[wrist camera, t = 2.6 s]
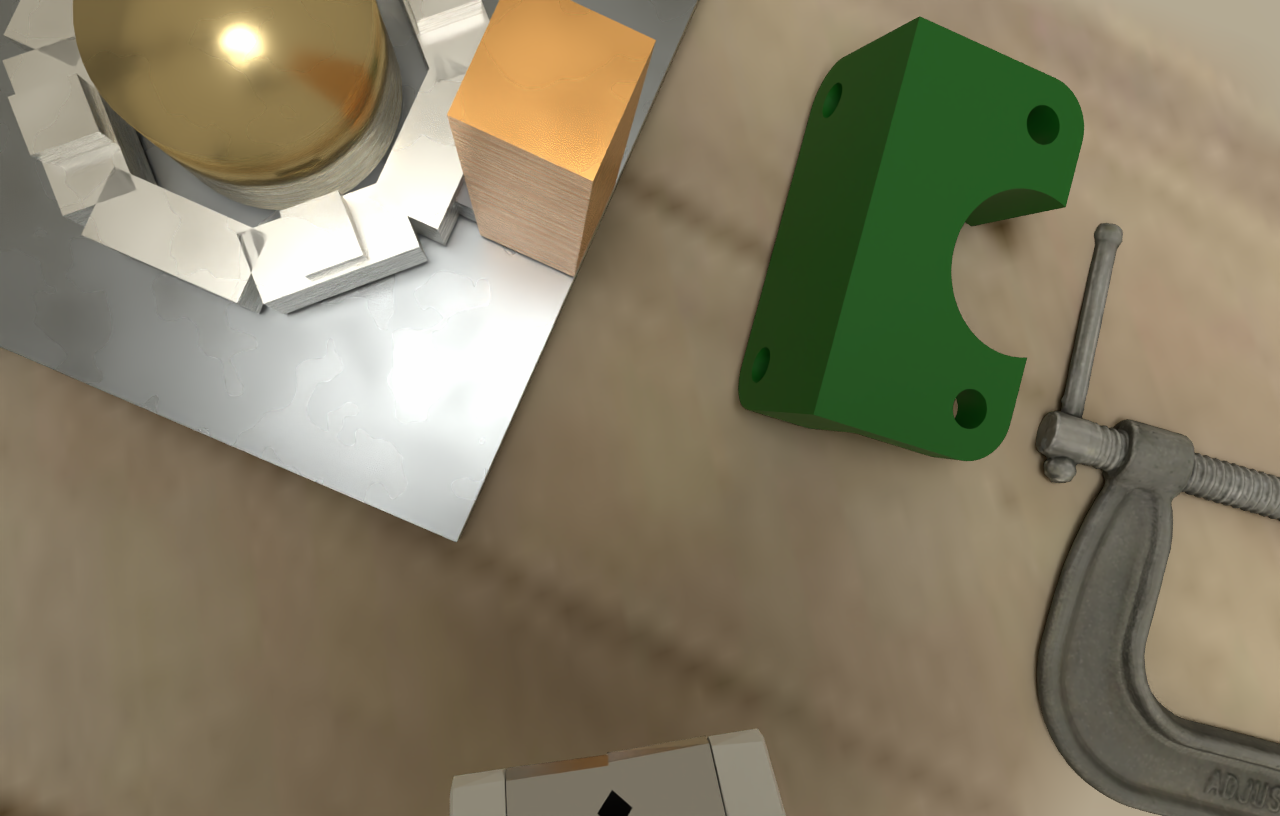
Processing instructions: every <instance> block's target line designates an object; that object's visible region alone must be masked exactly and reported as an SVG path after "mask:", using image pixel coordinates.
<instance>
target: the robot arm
mask: <svg viewBox="0 0 1280 816" xmlns="http://www.w3.org/2000/svg"><path fill="white" fill-rule="evenodd" d="M450 816H786V814H785V810H784V807H783V803H782V800H781V796H780V793H779V789H778V786H777V782H776V778H775V775H774V771H773V768H772V764H771V761H770V757H769V754H768V750H767V747H766V743H765V740H764V736H763V735H762V734H761V733H760V731H759V730H758V729H757V728H756V729H750V730H744V731H738V732H732V733H725V734H719V735H713V736H708V738H706V736H700V737H694V738H689V739H683V740H677V741H671V742H666V743H660V744H654V745H648V746H643V747H637V748H631V749H625V750H620V751H614V752H608V753H607V755H601V756H594V757H586V758H579V759H571V760H564V761H556V762H549V763H541V764H534V765H526V766H519V767H511V768H507V769H506V768H505V769H498V770H491V771H485V772H478V773H471V774H464V775H458V776H454V777H453V782H452V786H451V790H450Z"/></svg>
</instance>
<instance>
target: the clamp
mask: <svg viewBox="0 0 1280 816" xmlns="http://www.w3.org/2000/svg"><path fill="white" fill-rule="evenodd" d="M1083 135H1084V120H1083V114H1082V110H1081V107H1080V105H1079V102H1078V100H1077V98H1076V97H1075V95H1074V94H1073V92H1072V91H1071V90H1070V89H1069V88H1068V87H1067V86H1066V85H1065V84H1064V83H1063V82H1061V81H1060V80H1058V79H1056V78H1054V77H1052V76H1050V75H1047V74H1045V73H1043V72H1041V71H1039V70H1036V69H1034V68H1032V67H1030V66H1028V65H1025V64H1023V63H1021V62H1019V61H1017V60H1014V59H1012V58H1010V57H1008V56H1006V55H1003V54H1001V53H999V52H997V51H995V50H992V49H990V48H988V47H986V46H984V45H981V44H979V43H977V42H975V41H973V40H970V39H968V38H966V37H964V36H962V35H960V34H957V33H955V32H953V31H951V30H949V29H946V28H944V27H942V26H940V25H938V24H935V23H933V22H931V21H929V20H927V19H924V18H922V17H918V18H916V19H914V20H912V21H910V22H908V23H906V24H905V25H903V26H901V27H899V28H897V29H895V30H893V31H892V32H890V33H888V34H886V35H884V36H882V37H880V38H879V39H877V40H875V41H873V42H871V43H869V44H867V45H866V46H864V47H862V48H860V49H858V50H856V51H854V52H852V53H851V54H849V55H847V56H845V57H843V58H842V59H840V60H839V61H838V62H837V63H836V64H835V65H834V66H833V67H832V69H831V70H830V71H829V73H828V74H827V76H826V77H825V79H824V80H823V82H822V84H821V86H820V88H819V90H818V92H817V95H816V97H815V100H814V102H813V105H812V109H811V112H810V116H809V120H808V123H807V127H806V131H805V134H804V138H803V142H802V145H801V149H800V153H799V156H798V160H797V164H796V167H795V171H794V175H793V179H792V182H791V186H790V190H789V193H788V197H787V201H786V204H785V208H784V212H783V215H782V219H781V223H780V226H779V230H778V234H777V238H776V241H775V245H774V249H773V252H772V256H771V260H770V263H769V267H768V271H767V274H766V278H765V282H764V285H763V289H762V293H761V297H760V300H759V304H758V308H757V311H756V315H755V319H754V322H753V326H752V330H751V333H750V337H749V341H748V345H747V348H746V352H745V356H744V359H743V363H742V367H741V371H740V376H739V386H738V391H739V399H740V402H741V404H742V406H743V407H744V408H745V409H747V410H751V411H754V412H757V413H760V414H764V415H767V416H770V417H773V418H777V419H780V420H783V421H786V422H790V423H793V424H796V425H799V426H803V427H806V428H811V429H821V430H831V431H841V432H851V433H857V434H860V435H863V436H866V437H870V438H873V439H876V440H879V441H882V442H886V443H889V444H892V445H895V446H899V447H902V448H905V449H908V450H911V451H915V452H918V453H921V454H924V455H928V456H931V457H938V458H946V459H954V460H962V461H974V460H978V459H981V458H984V457H986V456H988V455H989V454H991V453H992V452H993V451H994V450H996V449H997V447H998V446H999V445H1000V444H1001V443H1002V441H1003V440H1004V438H1005V436H1006V434H1007V432H1008V429H1009V426H1010V423H1011V419H1012V415H1013V411H1014V407H1015V403H1016V399H1017V395H1018V391H1019V387H1020V383H1021V380H1022V376H1023V372H1024V368H1025V364H1026V360H1027V358H1019V357H1011V356H1007V355H1004V354H1001V353H999V352H996V351H995V350H993V349H991V348H989V347H988V346H986V345H985V344H984V343H982V342H981V341H980V340H979V339H978V338H977V337H976V336H975V335H974V334H973V333H972V331H971V330H970V329H969V327H968V326H967V325H966V323H965V321H964V320H963V318H962V316H961V314H960V312H959V309H958V307H957V304H956V301H955V297H954V293H953V288H952V279H951V264H952V255H953V251H954V246H955V243H956V240H957V237H958V235H959V232H960V230H961V228H962V226H963V224H964V223H967V224H969V225H970V226H975V225H980V224H985V223H990V222H995V221H1000V220H1005V219H1010V218H1015V217H1019V216H1024V215H1029V214H1034V213H1039V212H1044V211H1049V210H1054V209H1059V208H1063V207H1066V204H1067V200H1068V196H1069V192H1070V188H1071V184H1072V180H1073V176H1074V172H1075V168H1076V164H1077V161H1078V157H1079V153H1080V149H1081V145H1082V141H1083ZM955 398H956V399H957V403H958V411H957V415H956V417H955V418H954V415H953V403H954V400H955Z"/></svg>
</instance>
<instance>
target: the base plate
mask: <svg viewBox="0 0 1280 816" xmlns="http://www.w3.org/2000/svg"><path fill="white" fill-rule="evenodd" d="M481 1H482V3H483V6H484V8H485V11H486V13H487V16H488V18H489V21H490V20H491V17H492V15H493V13H494V11H495V9H496V6H497V4H498V2H499V0H481ZM571 1H573V2H575V3H577V4H580V5H582V6H584V7H586V8H588V9H590V10H592V11H595V12H597V13H599V14H601V15H603V16H605V17H608V18H610V19H612V20H614V21H616V22H618V23H620V24H623V25H625V26H627V27H629V28H631V29H633V30H635V31H638V32H640V33H642V34H644V35H646V36H648V37H650V38H653V39H655V40H656V42H655V46H654V49H653V53H652V56H651V60H650V63H649V67H648V70H647V74H646V77H645V81H644V84H643V88H642V91H641V95H640V98H639V102H638V105H637V109H636V113H635V116H634V120H633V123H632V127H631V130H630V134H629V137H628V141H627V144H626V148H625V151H624V155H623V158H622V162H621V165H620V169H619V172H618V176H617V179H616V183H615V186H614V188H613V191H612V193H611V195H610V197H609V200H608V202H607V204H606V206H605V209H604V211H603V213H602V215H601V218H600V220H599V222H598V224H597V226H596V229H595V231H594V233H593V235H592V238H591V240H590V242H589V244H588V247H587V249H586V251H585V253H584V256H583V258H582V260H581V262H580V265H579V267H578V269H577V271H576V274H575V276H574V277H573V276H571V275H568V274H566V273H564V272H562V271H560V270H557V269H555V268H553V267H551V266H548V265H546V264H544V263H542V262H539V261H537V260H535V259H533V258H531V257H528V256H526V255H524V254H522V253H519V252H517V251H515V250H513V249H510V248H508V247H506V246H504V245H502V244H499V243H497V242H495V241H493V240H490V239H488V238H486V237H484V236H482V235H480V232H479V229H478V225H477V222H475V221H473V220H471V219H468V218H466V217H464V216H462V215H460V214H459V216H458V218H457V220H456V222H455V225H454V227H453V229H452V231H451V233H450V236H449V238H448V240H447V242H446V244H445V245H443V244H441V243H439V242H437V241H435V240H432V239H430V238H428V237H426V236H423V235H421V234H419V233H417V234H418V237H419V239H420V242H421V244H422V247H423V249H424V252H425V255H426V257H427V260H428V261H427V262H424V263H421V264H419V265H416V266H413V267H411V268H408V269H405V270H402V271H400V272H397V273H394V274H392V275H389V276H386V277H384V278H381V279H378V280H375V281H373V282H370V283H367V284H365V285H362V286H359V287H356V288H354V289H351V290H348V291H346V292H343V293H340V294H337V295H335V296H332V297H329V298H327V299H324V300H321V301H318V302H316V303H313V304H310V305H308V306H305V307H302V308H300V309H297V310H294V311H291V312H289V313H286V314H282V313H280V312H278V311H276V310H274V309H272V308H270V307H269V306H267V305H265V304H264V305H263V307H262V309H261V311H260V313H257V312H254V311H252V310H250V309H247V308H245V307H243V306H241V305H238V304H236V303H234V302H231V301H229V300H227V299H225V298H222V297H220V296H218V295H215V294H213V293H211V292H209V291H206V290H204V289H202V288H199V287H197V286H195V285H193V284H190V283H188V282H186V281H183V280H181V279H179V278H177V277H174V276H172V275H170V274H167V273H165V272H163V271H161V270H158V269H156V268H154V267H151V266H149V265H147V264H145V263H142V262H140V261H138V260H135V259H133V258H131V257H129V256H126V255H124V254H122V253H119V252H117V251H115V250H113V249H111V248H108V247H106V246H104V245H102V244H100V243H98V242H96V241H94V240H91V239H89V238H87V237H85V236H83V235H81V234H82V232H83V230H84V226H82V225H80V224H78V223H76V222H74V221H72V220H70V219H68V218H66V217H64V216H63V215H62V213H61V210H60V207H59V205H58V202H57V200H56V197H55V195H54V192H53V189H52V187H51V184H50V182H49V179H48V177H47V174H46V171H45V169H44V166H43V164H42V162H41V161H39V160H38V159H36V158H34V157H32V156H31V155H30V153H29V151H28V148H27V145H26V143H25V140H24V138H23V135H22V133H21V130H20V127H19V125H18V122H17V120H16V117H15V115H14V112H13V109H12V107H11V104H10V102H9V99H8V97H9V96H12V95H15V92H14V89H13V86H12V84H11V81H10V79H9V76H8V74H7V71H6V68H5V66H4V63H3V61H2V60H5V59H8V58H11V57H14V56H17V55H20V54H23V53H26V52H25V51H24V50H22V49H21V48H20V47H18V46H17V45H16V44H14V43H13V42H12V41H11V40H9V39H8V38H7V37H5V36H4V33H5V31H6V29H7V27H8V25H9V23H10V21H11V19H12V17H13V14H14V12H15V10H16V8H17V6H18V4H19V2H20V0H0V347H2V348H4V349H7V350H9V351H11V352H14V353H16V354H18V355H21V356H23V357H25V358H28V359H30V360H32V361H35V362H37V363H39V364H42V365H44V366H46V367H49V368H51V369H53V370H56V371H58V372H60V373H63V374H65V375H67V376H70V377H72V378H74V379H77V380H79V381H81V382H84V383H86V384H88V385H91V386H93V387H95V388H98V389H100V390H102V391H105V392H107V393H109V394H112V395H114V396H116V397H119V398H121V399H123V400H126V401H128V402H130V403H133V404H135V405H137V406H140V407H142V408H144V409H147V410H149V411H151V412H154V413H156V414H158V415H161V416H163V417H165V418H168V419H170V420H172V421H175V422H177V423H179V424H182V425H184V426H186V427H189V428H191V429H193V430H196V431H198V432H200V433H203V434H205V435H207V436H210V437H212V438H214V439H217V440H219V441H221V442H224V443H226V444H228V445H231V446H233V447H235V448H238V449H240V450H242V451H245V452H247V453H249V454H252V455H254V456H256V457H259V458H261V459H263V460H266V461H268V462H270V463H273V464H275V465H277V466H280V467H282V468H284V469H287V470H289V471H291V472H294V473H296V474H298V475H301V476H303V477H305V478H308V479H310V480H312V481H315V482H317V483H319V484H322V485H324V486H326V487H329V488H331V489H333V490H336V491H338V492H340V493H343V494H345V495H347V496H350V497H352V498H354V499H357V500H359V501H361V502H364V503H366V504H368V505H371V506H373V507H375V508H378V509H380V510H382V511H385V512H387V513H389V514H392V515H394V516H396V517H399V518H401V519H403V520H406V521H408V522H410V523H413V524H415V525H417V526H420V527H422V528H424V529H427V530H429V531H431V532H434V533H436V534H438V535H441V536H443V537H445V538H448V539H450V540H452V541H455V542H457V541H458V540H459V539H460V537H461V535H462V533H463V530H464V528H465V526H466V524H467V521H468V519H469V517H470V515H471V512H472V510H473V508H474V506H475V503H476V501H477V499H478V497H479V494H480V492H481V490H482V488H483V485H484V483H485V481H486V479H487V476H488V474H489V472H490V470H491V467H492V465H493V463H494V461H495V458H496V456H497V454H498V452H499V449H500V447H501V445H502V443H503V440H504V438H505V436H506V434H507V431H508V429H509V427H510V425H511V422H512V420H513V418H514V416H515V413H516V411H517V409H518V407H519V404H520V402H521V400H522V398H523V396H524V393H525V391H526V389H527V387H528V384H529V382H530V380H531V378H532V375H533V373H534V371H535V369H536V366H537V364H538V362H539V360H540V357H541V355H542V353H543V351H544V348H545V346H546V344H547V342H548V339H549V337H550V335H551V333H552V330H553V328H554V326H555V324H556V321H557V319H558V317H559V315H560V312H561V310H562V308H563V306H564V303H565V301H566V299H567V297H568V294H569V292H570V290H571V288H572V285H573V283H574V281H575V279H576V276H577V274H578V272H579V270H580V267H581V265H582V263H583V261H584V258H585V256H586V254H587V252H588V249H589V247H590V245H591V243H592V240H593V238H594V236H595V234H596V231H597V229H598V227H599V225H600V222H601V220H602V218H603V216H604V213H605V211H606V209H607V207H608V204H609V202H610V200H611V198H612V195H613V193H614V191H615V189H616V186H617V184H618V182H619V180H620V177H621V175H622V173H623V171H624V168H625V166H626V164H627V162H628V159H629V157H630V155H631V153H632V150H633V148H634V146H635V144H636V141H637V139H638V137H639V135H640V132H641V130H642V128H643V126H644V123H645V121H646V119H647V117H648V114H649V112H650V110H651V108H652V105H653V103H654V101H655V99H656V96H657V94H658V92H659V90H660V87H661V85H662V83H663V81H664V78H665V76H666V74H667V72H668V69H669V67H670V65H671V63H672V60H673V58H674V56H675V54H676V51H677V49H678V47H679V45H680V42H681V40H682V38H683V36H684V33H685V31H686V29H687V27H688V24H689V22H690V20H691V18H692V15H693V13H694V11H695V9H696V6H697V4H698V2H699V0H571ZM73 26H74V32H75V38H76V43H77V47H78V50H79V53H80V56H81V59H82V62H83V64H84V66H85V69H86V71H87V73H88V75H89V77H90V79H91V81H92V82H93V84H94V85H95V87H96V89H97V90H98V92H99V93H100V95H101V96H102V97H103V98H104V100H105V101H106V102H107V103H108V104H109V106H110V107H111V108H112V109H113V110H114V111H115V112H116V113H117V114H118V115H119V116H120V117H121V118H122V119H124V120H125V121H126V122H127V123H128V124H129V125H130V126H132V127H133V128H134V129H135V130H136V133H137V136H138V138H139V141H140V143H141V146H142V148H143V151H144V154H145V156H146V159H147V161H148V164H149V166H150V169H151V172H152V174H153V177H154V179H155V182H156V184H157V186H159V187H161V188H164V189H166V190H168V191H170V192H173V193H175V194H177V195H179V196H182V197H184V198H186V199H188V200H191V201H193V202H195V203H197V204H200V205H202V206H204V207H207V208H209V209H211V210H213V211H216V212H218V213H220V214H222V215H225V216H227V217H229V218H231V219H234V220H236V221H238V222H240V223H243V224H245V225H247V226H249V227H252V228H254V227H257V226H260V225H262V224H265V223H268V222H271V221H273V220H276V219H279V218H282V217H281V215H280V212H279V211H282V210H285V209H288V208H290V207H293V206H296V205H299V204H302V203H304V202H307V201H310V200H313V199H315V198H318V197H321V196H324V195H327V194H329V193H332V192H335V191H339V192H340V194H341V195H342V196H343V195H346V194H348V193H351V192H354V191H357V190H359V189H362V188H365V187H368V186H371V185H373V184H376V183H377V181H378V179H379V177H380V174H381V172H382V170H383V168H384V166H385V164H386V161H387V159H388V157H389V155H390V153H391V151H392V148H393V146H394V144H395V142H396V140H397V138H398V135H399V133H400V131H401V129H402V127H403V125H404V122H405V120H406V118H407V116H408V114H409V112H410V109H411V107H412V105H413V103H414V101H415V99H416V96H417V94H418V92H419V90H420V88H421V85H422V83H423V81H424V79H425V77H426V75H427V72H428V70H427V68H426V65H425V63H424V60H423V58H422V55H421V52H420V50H419V47H418V45H417V42H416V40H415V37H414V34H413V32H412V29H411V27H410V24H409V22H408V19H407V16H406V14H405V11H404V9H403V6H402V4H401V1H400V0H73Z"/></svg>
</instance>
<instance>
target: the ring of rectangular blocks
mask: <svg viewBox="0 0 1280 816" xmlns="http://www.w3.org/2000/svg"><path fill="white" fill-rule="evenodd" d="M400 1H401V4H402V6H403V9H404V11H405V14H406V16H407V19H408V22H409V24H410V27H411V29H412V32H413V34H414V37H415V40H416V42H417V45H418V47H419V50H420V52H421V55H422V58H423V60H424V63H425V65H426V68H427V70H428V72H427V75H426V77H425V79H424V81H423V83H422V85H421V88H420V90H419V92H418V94H417V96H416V99H415V101H414V103H413V105H412V107H411V109H410V112H409V114H408V116H407V118H406V120H405V122H404V125H403V127H402V129H401V131H400V133H399V135H398V138H397V140H396V142H395V144H394V146H393V148H392V151H391V153H390V155H389V157H388V159H387V161H386V164H385V166H384V168H383V170H382V172H381V174H380V177H379V179H378V181H377V183H376V184H373V185H371V186H368V187H365V188H362V189H359V190H357V191H354V192H351V193H348V194H346V195H343V196H342V195H341V194H340V192H339V191H335V192H332V193H329V194H327V195H324V196H321V197H318V198H315V199H313V200H310V201H307V202H304V203H302V204H299V205H296V206H293V207H290V208H288V209H285V210H282V211H279V212H280V215H281V217H282V218H279V219H276V220H273V221H271V222H268V223H265V224H262V225H260V226H257V227H254V228H252V227H249V226H247V225H245V224H243V223H240V222H238V221H236V220H234V219H231V218H229V217H227V216H225V215H222V214H220V213H218V212H216V211H213V210H211V209H209V208H207V207H204V206H202V205H200V204H197V203H195V202H193V201H191V200H188V199H186V198H184V197H182V196H179V195H177V194H175V193H173V192H170V191H168V190H166V189H164V188H161V187H159V186H157V184H156V182H155V179H154V177H153V174H152V172H151V169H150V166H149V164H148V161H147V159H146V156H145V154H144V151H143V148H142V146H141V143H140V141H139V138H138V136H137V133H136V130H135V129H134V128H133V127H132V126H130V125H129V124H128V123H127V122H126V121H125V120H124V119H122V118H121V117H120V116H119V115H118V114H117V113H116V112H115V111H114V110H113V109H112V108H111V107H110V106H109V104H108V103H107V102H106V101H105V100H104V98H103V97H102V96H101V95H100V93H99V92H98V90H97V89H96V87H95V85H94V84H93V82H92V81H91V79H90V77H89V75H88V73H87V71H86V69H85V66H84V64H83V62H82V59H81V56H80V53H79V50H78V47H77V43H76V38H75V32H74V26H73V0H20V2H19V4H18V6H17V8H16V10H15V12H14V14H13V17H12V19H11V21H10V23H9V25H8V27H7V29H6V31H5V33H4V36H5V37H7V38H8V39H9V40H11V41H12V42H13V43H14V44H16V45H17V46H18V47H20V48H21V49H22V50H24V51H25V52H26V53H23V54H20V55H17V56H14V57H11V58H8V59H5V60H2V61H3V63H4V66H5V68H6V71H7V74H8V76H9V79H10V81H11V84H12V86H13V89H14V92H15V95H12V96H9V97H8V99H9V102H10V104H11V107H12V109H13V112H14V115H15V117H16V120H17V122H18V125H19V127H20V130H21V133H22V135H23V138H24V140H25V143H26V145H27V148H28V151H29V153H30V155H31V156H32V157H34V158H36V159H38V160H39V161H41V162H42V164H43V166H44V169H45V171H46V174H47V177H48V179H49V182H50V184H51V187H52V189H53V192H54V195H55V197H56V200H57V202H58V205H59V207H60V210H61V213H62V215H63V216H64V217H66V218H68V219H70V220H72V221H74V222H76V223H78V224H80V225H82V226H84V230H83V232H82V234H81V235H83V236H85V237H87V238H89V239H91V240H94V241H96V242H98V243H100V244H102V245H104V246H106V247H108V248H111V249H113V250H115V251H117V252H119V253H122V254H124V255H126V256H129V257H131V258H133V259H135V260H138V261H140V262H142V263H145V264H147V265H149V266H151V267H154V268H156V269H158V270H161V271H163V272H165V273H167V274H170V275H172V276H174V277H177V278H179V279H181V280H183V281H186V282H188V283H190V284H193V285H195V286H197V287H199V288H202V289H204V290H206V291H209V292H211V293H213V294H215V295H218V296H220V297H222V298H225V299H227V300H229V301H231V302H234V303H236V304H238V305H241V306H243V307H245V308H247V309H250V310H252V311H254V312H257V313H260V311H261V309H262V307H263V305H264V304H265V305H267V306H269V307H270V308H272V309H274V310H276V311H278V312H280V313H282V314H286V313H289V312H291V311H294V310H297V309H300V308H302V307H305V306H308V305H310V304H313V303H316V302H318V301H321V300H324V299H327V298H329V297H332V296H335V295H337V294H340V293H343V292H346V291H348V290H351V289H354V288H356V287H359V286H362V285H365V284H367V283H370V282H373V281H375V280H378V279H381V278H384V277H386V276H389V275H392V274H394V273H397V272H400V271H402V270H405V269H408V268H411V267H413V266H416V265H419V264H421V263H424V262H427V261H428V260H427V257H426V255H425V252H424V249H423V247H422V244H421V242H420V239H419V237H418V234H417V233H419V234H421V235H423V236H426V237H428V238H430V239H432V240H435V241H437V242H439V243H441V244H443V245H445V244H446V242H447V240H448V238H449V236H450V233H451V231H452V229H453V227H454V225H455V222H456V220H457V218H458V216H459V214H460V215H462V216H464V217H466V218H468V219H471V220H473V221H475V222H477V225H478V229H479V232H480V235H482V236H484V237H486V238H488V239H490V240H493V241H495V242H497V243H499V244H502V245H504V246H506V247H508V248H510V249H513V250H515V251H517V252H519V253H522V254H524V255H526V256H528V257H531V258H533V259H535V260H537V261H539V262H542V263H544V264H546V265H548V266H551V267H553V268H555V269H557V270H560V271H562V272H564V273H566V274H568V275H571V276H573V277H574V276H575V274H576V271H577V269H578V267H579V265H580V262H581V260H582V258H583V256H584V253H585V251H586V249H587V247H588V244H589V242H590V240H591V238H592V235H593V233H594V231H595V229H596V226H597V224H598V222H599V220H600V218H601V215H602V213H603V211H604V209H605V206H606V204H607V202H608V200H609V197H610V195H611V193H612V191H613V188H614V186H615V183H616V179H617V176H618V172H619V169H620V165H621V162H622V158H623V155H624V151H625V148H626V144H627V141H628V137H629V134H630V130H631V127H632V123H633V120H634V116H635V113H636V109H637V105H638V102H639V98H640V95H641V91H642V88H643V84H644V81H645V77H646V74H647V70H648V67H649V63H650V60H651V56H652V53H653V49H654V46H655V42H656V40H655V39H653V38H650V37H648V36H646V35H644V34H642V33H640V32H638V31H635V30H633V29H631V28H629V27H627V26H625V25H623V24H620V23H618V22H616V21H614V20H612V19H610V18H608V17H605V16H603V15H601V14H599V13H597V12H595V11H592V10H590V9H588V8H586V7H584V6H582V5H580V4H577V3H575V2H573V1H571V0H499V2H498V4H497V6H496V9H495V11H494V13H493V15H492V17H491V20H490V21H489V18H488V16H487V13H486V11H485V8H484V6H483V3H482V1H481V0H400Z"/></svg>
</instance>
